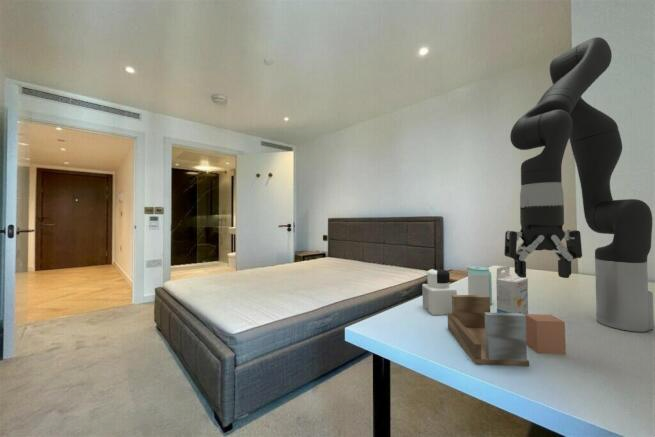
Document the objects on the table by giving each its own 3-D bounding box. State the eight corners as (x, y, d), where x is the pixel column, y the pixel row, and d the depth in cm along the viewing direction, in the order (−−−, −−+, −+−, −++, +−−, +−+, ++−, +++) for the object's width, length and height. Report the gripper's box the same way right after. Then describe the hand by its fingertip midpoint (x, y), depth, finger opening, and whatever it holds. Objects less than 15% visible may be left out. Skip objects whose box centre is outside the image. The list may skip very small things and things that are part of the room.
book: (551, 344, 59) (550, 314, 59) (565, 354, 55) (565, 321, 55) (525, 343, 60) (524, 313, 60) (537, 353, 56) (536, 321, 56)
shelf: (487, 329, 68) (486, 291, 68) (529, 366, 51) (527, 315, 51) (447, 328, 69) (446, 291, 69) (475, 363, 53) (474, 314, 53)
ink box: (516, 324, 71) (515, 270, 71) (496, 319, 75) (495, 268, 75) (529, 317, 75) (528, 266, 75) (509, 312, 79) (508, 264, 79)
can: (464, 301, 91) (463, 267, 91) (476, 298, 94) (475, 265, 94) (484, 307, 85) (483, 270, 85) (496, 303, 88) (495, 268, 88)
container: (445, 306, 87) (444, 267, 87) (457, 314, 79) (456, 272, 79) (422, 307, 86) (421, 268, 86) (432, 315, 79) (431, 272, 79)
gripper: (563, 204, 60) (564, 274, 60) (497, 206, 62) (499, 273, 62) (591, 202, 53) (593, 281, 53) (516, 204, 55) (517, 280, 55)
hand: (542, 277), depth 58 cm, fingers open, 8 cm apart
